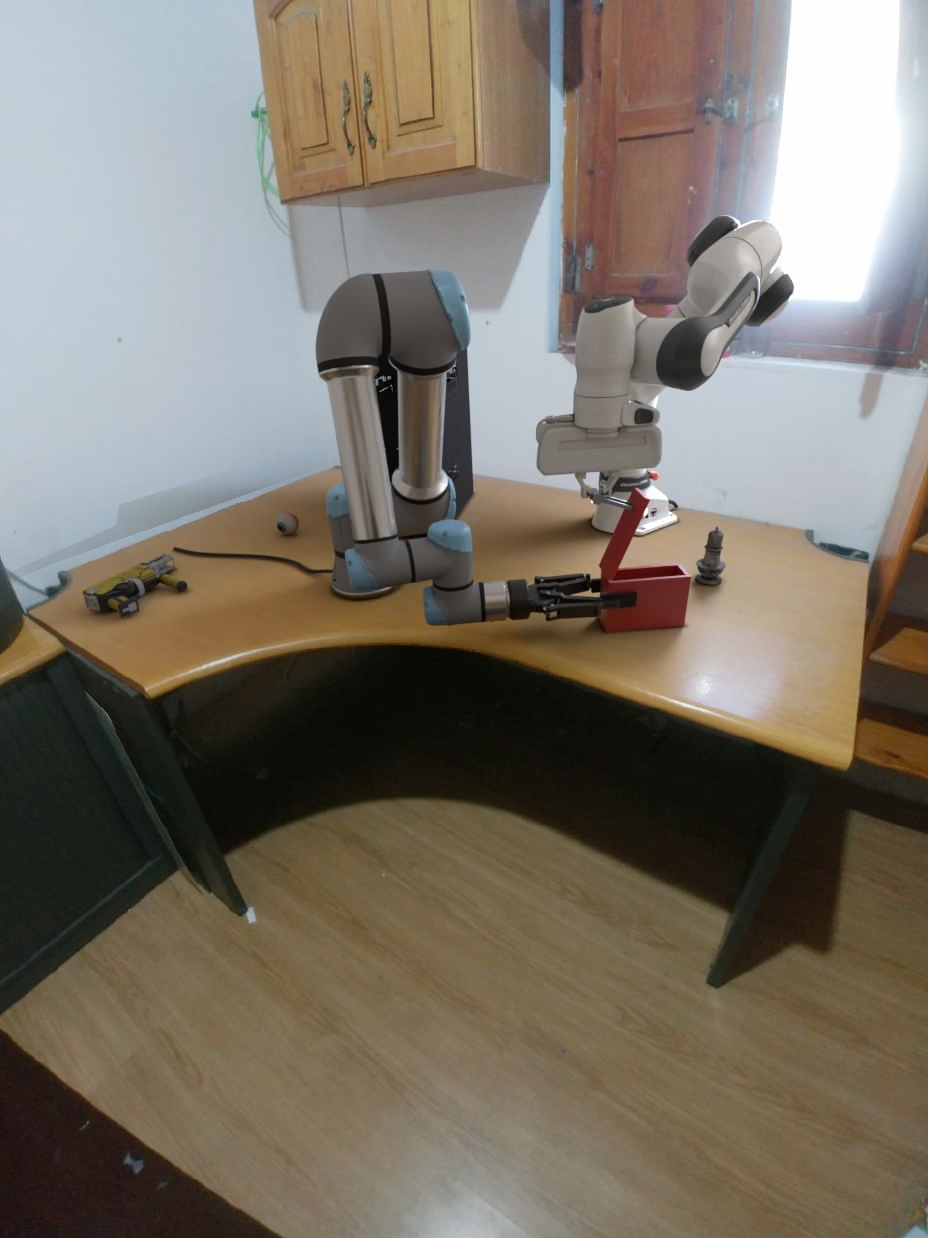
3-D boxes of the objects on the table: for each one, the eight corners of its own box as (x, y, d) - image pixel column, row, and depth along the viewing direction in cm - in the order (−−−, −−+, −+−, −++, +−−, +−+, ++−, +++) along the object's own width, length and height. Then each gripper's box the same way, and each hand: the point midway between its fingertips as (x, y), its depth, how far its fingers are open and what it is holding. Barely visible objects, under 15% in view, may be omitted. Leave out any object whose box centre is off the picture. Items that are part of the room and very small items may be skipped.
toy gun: (211, 561, 143) (160, 551, 147) (132, 605, 123) (75, 591, 127) (214, 579, 146) (164, 568, 150) (137, 625, 126) (81, 610, 130)
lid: (639, 488, 105) (592, 474, 104) (650, 499, 100) (601, 485, 99) (604, 567, 113) (559, 555, 111) (612, 580, 108) (565, 568, 106)
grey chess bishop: (725, 585, 126) (735, 532, 120) (695, 584, 127) (704, 531, 121) (720, 573, 131) (730, 521, 125) (692, 572, 132) (700, 520, 126)
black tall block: (442, 539, 156) (428, 350, 134) (369, 536, 161) (343, 353, 138) (473, 492, 188) (466, 333, 165) (411, 491, 192) (396, 335, 170)
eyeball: (273, 537, 164) (268, 516, 161) (287, 528, 169) (282, 508, 166) (291, 539, 161) (286, 518, 158) (305, 530, 166) (301, 510, 163)
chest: (673, 610, 118) (679, 563, 113) (684, 625, 114) (691, 576, 108) (598, 617, 118) (601, 569, 113) (605, 632, 113) (609, 583, 108)
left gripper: (501, 595, 122) (614, 586, 122) (514, 644, 105) (644, 634, 106) (500, 561, 118) (617, 552, 119) (513, 607, 102) (649, 596, 102)
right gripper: (539, 420, 92) (538, 507, 99) (670, 411, 93) (660, 498, 100) (532, 412, 98) (532, 495, 105) (656, 404, 99) (647, 486, 106)
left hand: (630, 591), depth 112 cm, fingers closed on chest, 6 cm apart
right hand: (595, 496), depth 102 cm, fingers closed on lid, 2 cm apart
